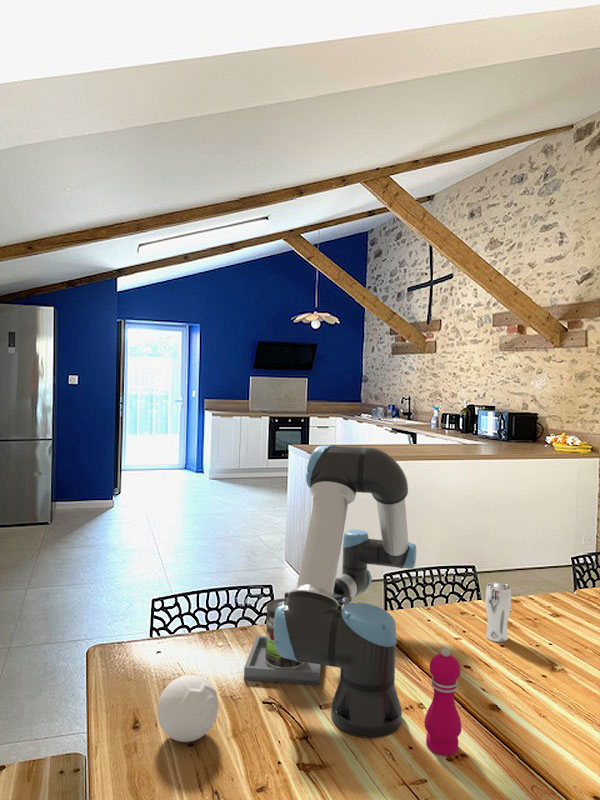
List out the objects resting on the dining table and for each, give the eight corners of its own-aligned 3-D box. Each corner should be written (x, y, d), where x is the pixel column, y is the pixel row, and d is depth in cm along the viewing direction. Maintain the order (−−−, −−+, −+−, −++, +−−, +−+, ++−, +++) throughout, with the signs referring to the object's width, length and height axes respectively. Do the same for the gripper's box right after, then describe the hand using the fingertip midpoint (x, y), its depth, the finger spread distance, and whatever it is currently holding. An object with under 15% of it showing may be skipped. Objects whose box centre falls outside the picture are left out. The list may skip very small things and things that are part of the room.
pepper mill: (461, 760, 115) (465, 658, 115) (423, 754, 117) (427, 653, 116) (459, 738, 123) (463, 642, 122) (423, 733, 124) (427, 638, 123)
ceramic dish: (318, 685, 142) (319, 672, 142) (243, 679, 144) (244, 667, 144) (322, 651, 160) (323, 640, 160) (256, 646, 162) (256, 635, 161)
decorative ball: (180, 764, 112) (181, 701, 112) (145, 736, 120) (146, 678, 120) (229, 737, 121) (231, 679, 120) (193, 713, 129) (194, 658, 128)
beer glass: (512, 636, 172) (514, 585, 172) (506, 645, 166) (508, 592, 166) (487, 630, 176) (489, 580, 176) (481, 639, 170) (483, 587, 170)
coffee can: (285, 674, 145) (287, 617, 144) (256, 660, 152) (258, 605, 151) (314, 660, 152) (315, 606, 152) (285, 647, 159) (286, 595, 159)
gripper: (377, 613, 169) (341, 640, 151) (302, 594, 182) (261, 617, 164) (378, 587, 168) (342, 611, 150) (303, 570, 182) (262, 590, 164)
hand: (300, 614), depth 157 cm, fingers open, 13 cm apart
